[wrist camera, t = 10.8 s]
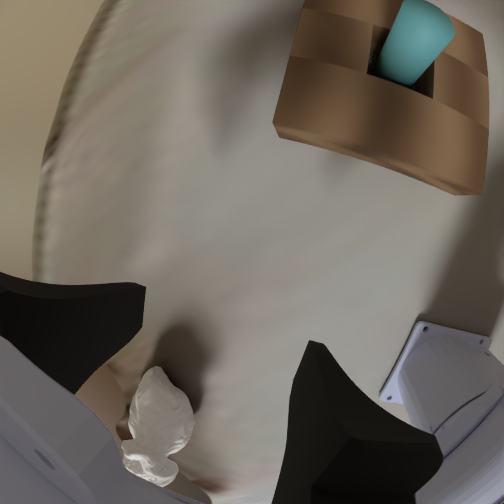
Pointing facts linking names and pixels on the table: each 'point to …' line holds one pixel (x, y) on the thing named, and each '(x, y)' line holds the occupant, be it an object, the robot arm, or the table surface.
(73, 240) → the table surface
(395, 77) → the peg
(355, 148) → the hole block
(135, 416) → the bust
